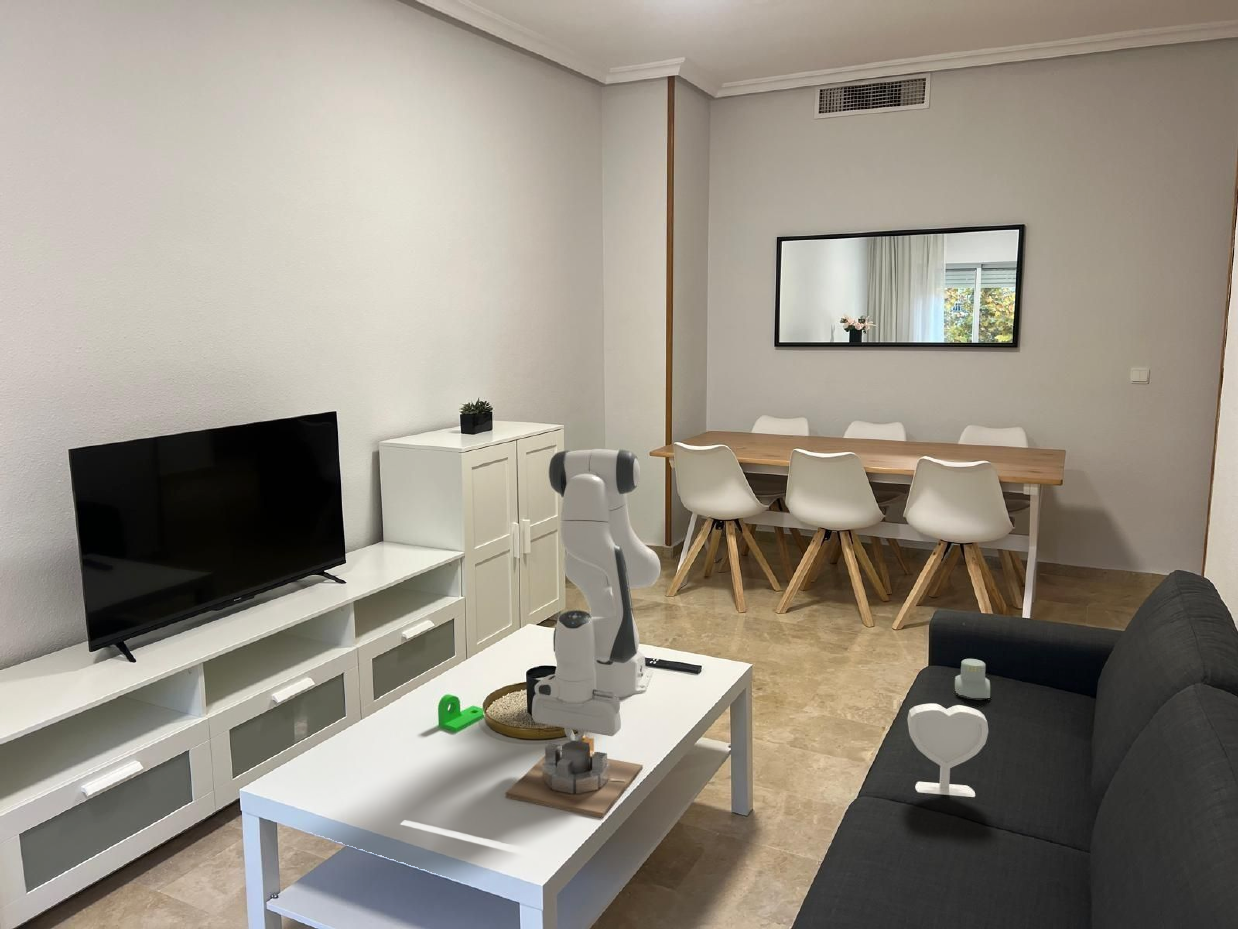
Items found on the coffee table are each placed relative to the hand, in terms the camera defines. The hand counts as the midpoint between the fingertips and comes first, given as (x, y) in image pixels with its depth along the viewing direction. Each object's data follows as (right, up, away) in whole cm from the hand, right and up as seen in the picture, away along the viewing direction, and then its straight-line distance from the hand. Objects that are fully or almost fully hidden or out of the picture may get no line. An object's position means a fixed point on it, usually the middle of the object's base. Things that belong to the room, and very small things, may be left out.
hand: (576, 747), depth 203 cm
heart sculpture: (+78, -6, -9) cm, 78 cm away
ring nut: (0, -5, -5) cm, 7 cm away
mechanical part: (-29, -2, +25) cm, 38 cm away
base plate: (0, -6, -5) cm, 8 cm away
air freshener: (+101, 0, +38) cm, 108 cm away
